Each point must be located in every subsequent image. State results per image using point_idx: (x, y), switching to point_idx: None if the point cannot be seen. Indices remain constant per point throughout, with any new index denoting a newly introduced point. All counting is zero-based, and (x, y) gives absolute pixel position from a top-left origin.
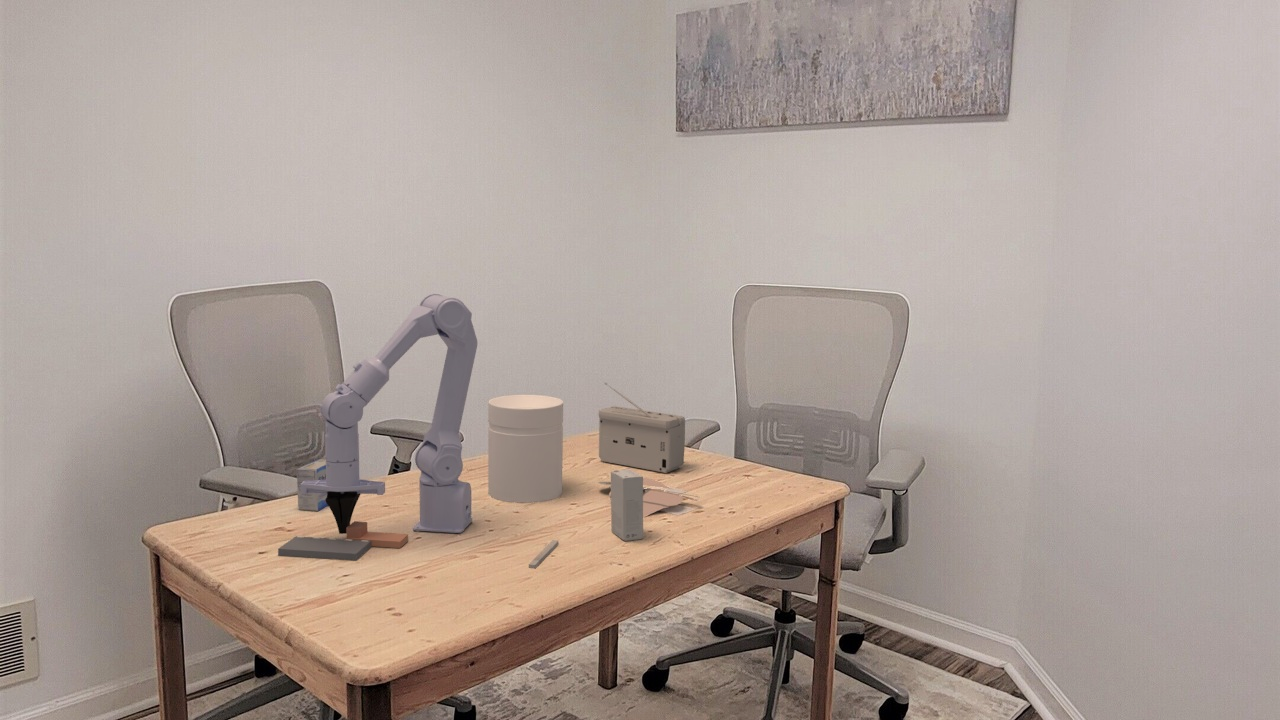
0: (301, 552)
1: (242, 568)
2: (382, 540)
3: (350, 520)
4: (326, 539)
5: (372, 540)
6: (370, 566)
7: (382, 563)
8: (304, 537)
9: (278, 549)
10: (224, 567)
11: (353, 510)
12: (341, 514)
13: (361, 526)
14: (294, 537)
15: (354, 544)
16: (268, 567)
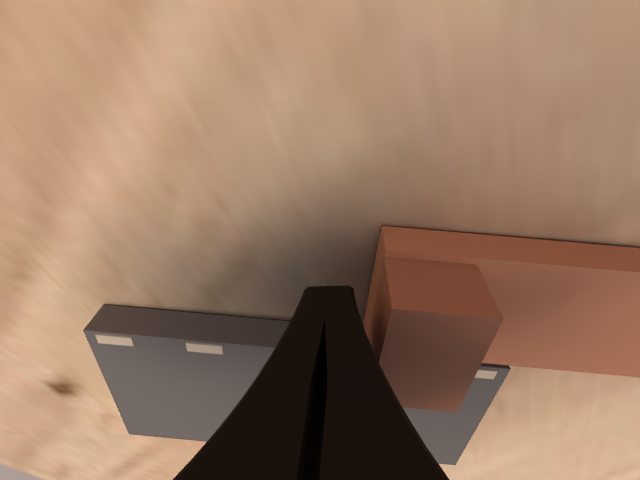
0: None
1: (116, 468)
2: (578, 370)
3: (364, 333)
4: (265, 358)
5: (517, 362)
6: (507, 464)
7: (551, 450)
8: (138, 342)
9: (132, 432)
10: (62, 463)
11: (395, 395)
12: (320, 465)
13: (467, 388)
14: (90, 342)
15: None
16: (183, 465)
